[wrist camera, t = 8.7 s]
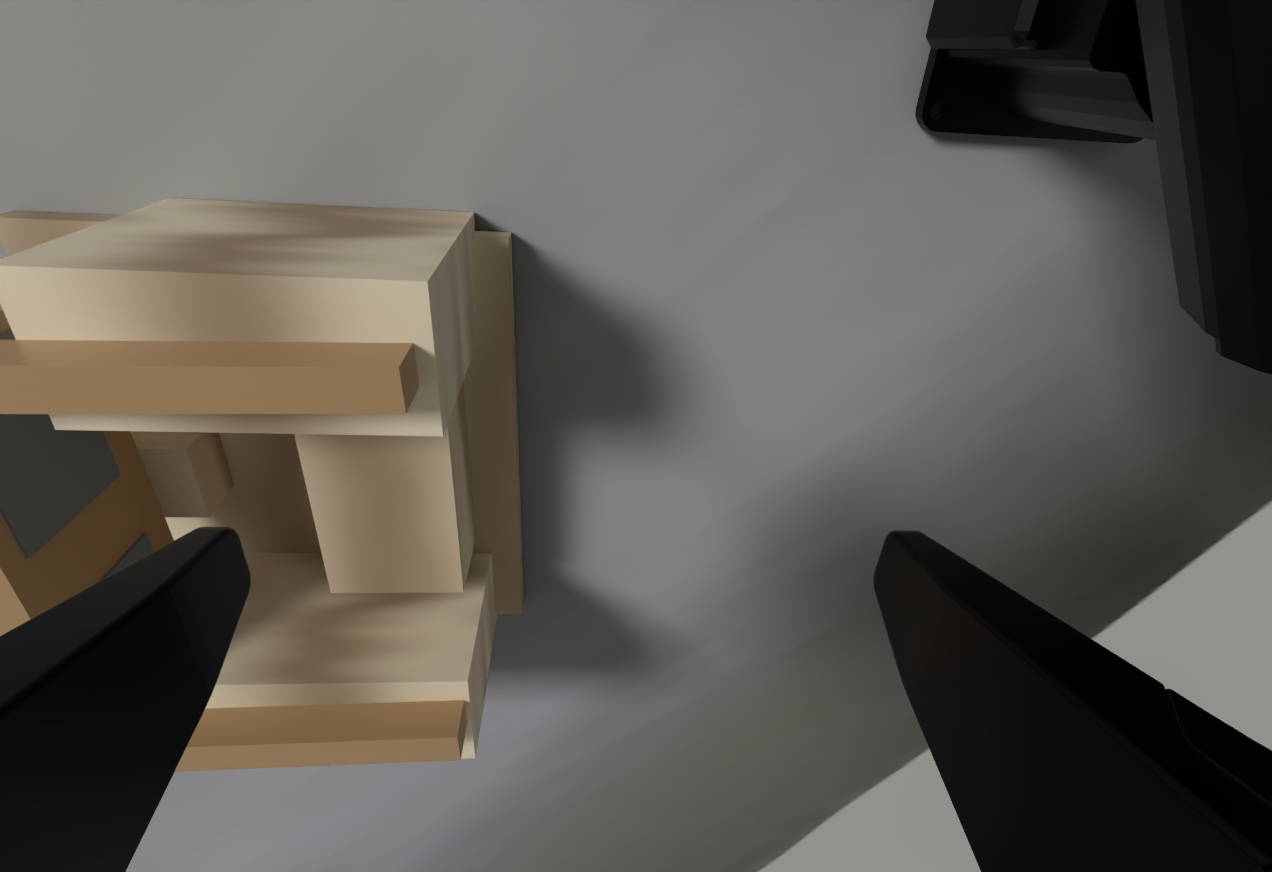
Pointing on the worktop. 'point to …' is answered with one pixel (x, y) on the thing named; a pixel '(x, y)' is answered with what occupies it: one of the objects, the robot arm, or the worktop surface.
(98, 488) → the glasses
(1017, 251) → the worktop surface
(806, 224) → the worktop surface
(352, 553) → the wooden block stand
